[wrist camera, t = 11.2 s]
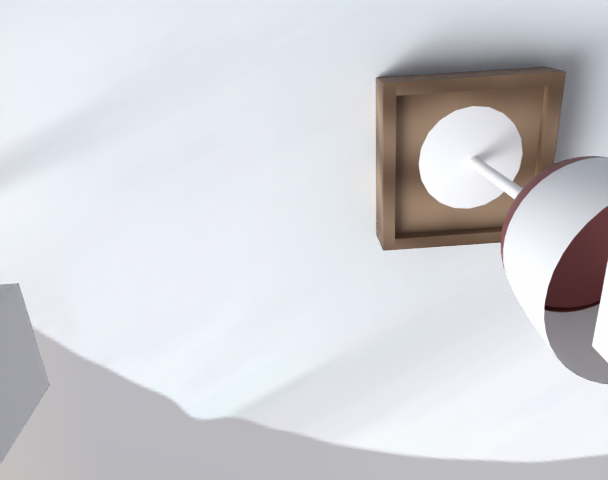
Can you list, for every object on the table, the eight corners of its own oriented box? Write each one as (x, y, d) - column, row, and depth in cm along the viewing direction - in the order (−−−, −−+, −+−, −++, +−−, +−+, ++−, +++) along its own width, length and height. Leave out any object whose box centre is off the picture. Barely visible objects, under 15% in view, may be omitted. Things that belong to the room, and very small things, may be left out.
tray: (375, 78, 44) (383, 83, 40) (544, 67, 44) (565, 71, 41) (376, 235, 49) (383, 250, 46) (526, 224, 49) (543, 239, 46)
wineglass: (544, 111, 43) (808, 201, 22) (500, 225, 46) (689, 398, 25) (437, 86, 42) (604, 155, 20) (400, 204, 45) (510, 368, 24)
